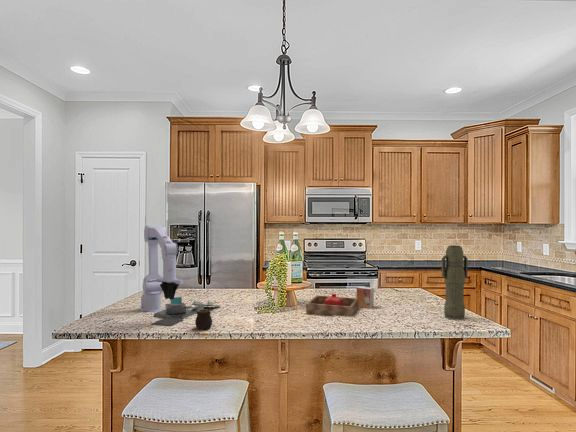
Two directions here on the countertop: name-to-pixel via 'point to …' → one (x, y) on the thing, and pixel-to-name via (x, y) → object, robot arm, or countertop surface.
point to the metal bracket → (203, 304)
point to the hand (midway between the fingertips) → (169, 298)
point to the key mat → (167, 322)
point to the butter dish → (334, 300)
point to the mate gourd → (203, 319)
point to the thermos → (454, 282)
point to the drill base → (175, 316)
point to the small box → (365, 297)
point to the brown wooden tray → (332, 306)
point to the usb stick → (176, 301)
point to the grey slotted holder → (178, 308)
